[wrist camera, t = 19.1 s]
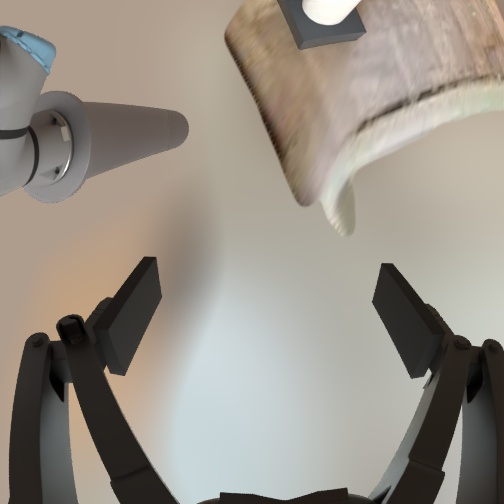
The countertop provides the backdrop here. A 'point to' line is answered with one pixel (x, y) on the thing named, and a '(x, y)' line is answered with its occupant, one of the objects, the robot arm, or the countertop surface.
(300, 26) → the grey block
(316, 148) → the countertop surface
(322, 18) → the can
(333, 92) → the countertop surface
